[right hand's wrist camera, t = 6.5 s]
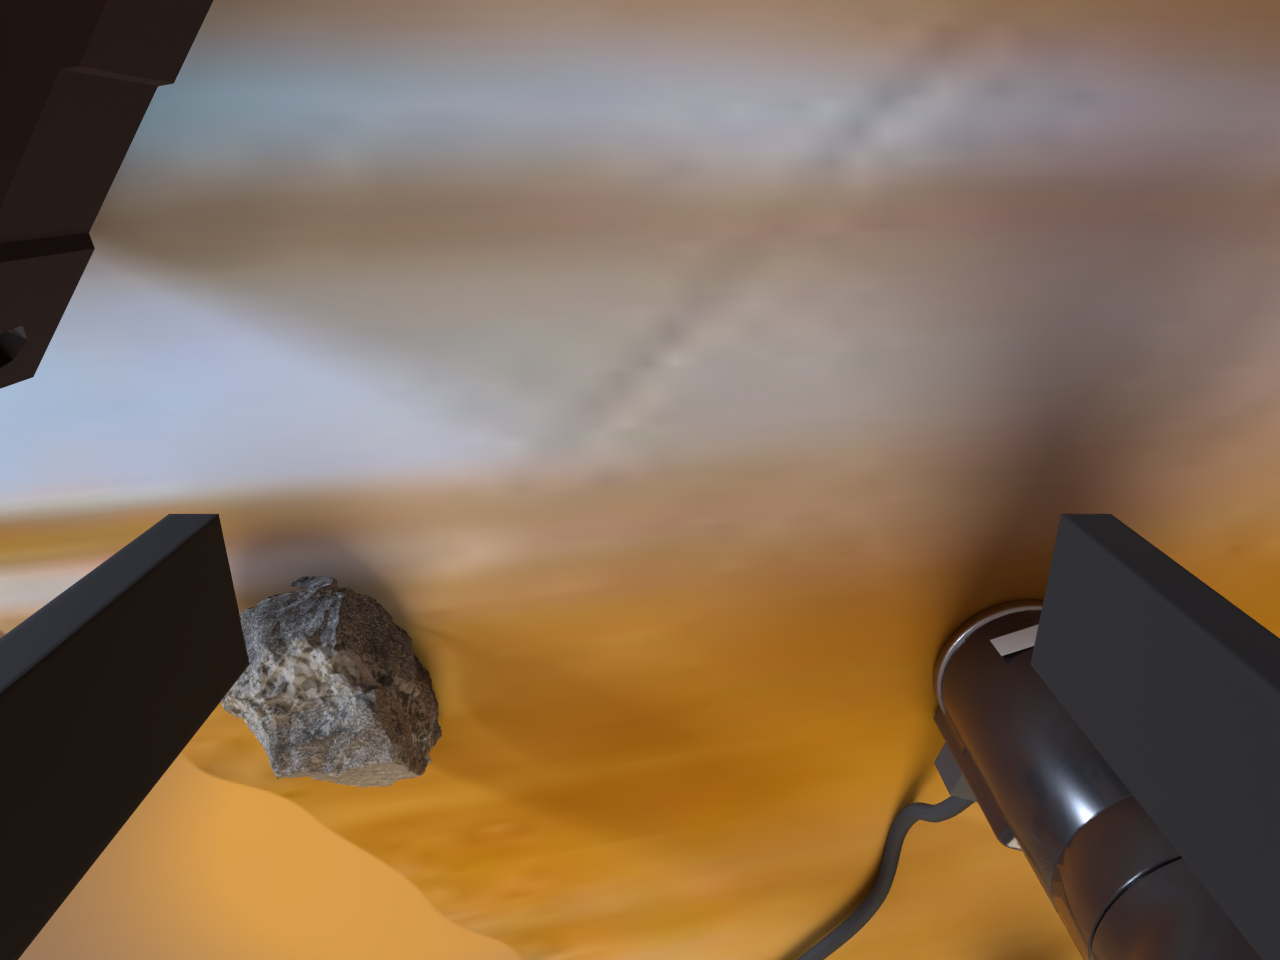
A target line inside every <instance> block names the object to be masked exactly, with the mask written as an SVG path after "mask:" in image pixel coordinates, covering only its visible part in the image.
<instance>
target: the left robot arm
mask: <svg viewBox="0 0 1280 960" xmlns="http://www.w3.org/2000/svg"><path fill="white" fill-rule="evenodd" d="M1042 606H1043V601H1041V600H1020V601H1013V602H1008V603H1004V604H1000V605H997V606H994V607H992V608H989V609H987V610H985V611H983V612H981V613H979V614H977V615H975V616H974V617H972V618H971V619H969V620H968V621H967V622H965V623H964V624H963V625H962V626H960V627H959V628H958V629H957V630H956V631H955V632H954V633H953V635H952V636H951V637H950V638H949V639H948V641H947V642H946V644H945V645H944V647H943V648H942V650H941V652H940V654H939V656H938V659H937V662H936V665H935V669H934V677H933V685H934V692H935V696H936V699H937V702H938V704H939V707H938V710H937V712H936V714H935V716H934V721H935V723H936V724H937V726H938V728H939V730H940V732H941V734H942V736H943V738H944V740H945V741H946V742H945V744H944V746H943V748H942V750H941V751H940V753H939V755H938V757H937V759H936V760H935V762H934V763H935V765H936V767H937V769H938V771H939V773H940V775H941V778H942V780H943V782H944V784H945V786H946V788H947V790H948V792H949V794H950V795H952V796H950V797H949V798H947V799H946V800H944V801H943V802H941V803H938V804H936V805H930V804H926V803H913V804H910V805H908V806H906V807H905V808H904V809H903V810H902V811H901V812H900V813H899V815H898V816H897V817H896V819H895V821H894V823H893V825H892V827H891V830H890V832H889V835H888V838H887V842H886V846H885V850H884V855H883V859H882V863H881V867H880V871H879V874H878V877H877V880H876V882H875V884H874V886H873V888H872V889H871V891H870V893H869V894H868V896H867V897H866V898H865V899H864V901H863V902H862V903H861V904H860V906H859V907H858V908H857V909H856V910H855V911H854V912H853V913H852V914H851V915H850V916H849V917H848V918H847V919H846V920H845V921H844V922H843V923H842V924H840V925H839V926H838V927H837V928H836V929H835V930H833V931H832V932H831V933H830V934H828V935H827V936H826V937H825V938H823V939H822V940H821V941H819V942H818V943H817V944H816V945H814V946H813V947H812V948H811V949H809V950H808V951H807V952H806V953H804V954H803V955H802V956H801V957H800V958H798V959H797V960H824V959H825V958H827V957H828V956H829V955H830V954H832V953H833V952H834V951H836V950H837V949H838V948H839V947H841V946H842V945H843V944H844V943H846V942H847V941H848V940H849V939H850V938H852V937H853V936H854V935H855V934H856V933H857V932H858V931H859V930H860V929H861V928H862V927H863V926H864V925H865V924H866V923H867V922H868V921H869V920H870V919H871V918H872V916H873V915H874V914H875V913H876V912H877V910H878V909H879V908H880V906H881V905H882V903H883V902H884V900H885V898H886V896H887V894H888V892H889V890H890V888H891V885H892V882H893V879H894V876H895V873H896V869H897V865H898V861H899V856H900V852H901V848H902V844H903V841H904V838H905V836H906V834H907V832H908V830H909V829H910V828H911V826H912V825H913V824H914V823H915V822H917V821H918V820H924V821H928V822H940V821H944V820H947V819H949V818H952V817H954V816H956V815H957V814H959V813H961V812H962V811H964V810H965V809H966V808H968V807H969V806H970V805H971V804H973V803H974V802H978V803H979V805H980V807H981V809H982V811H983V813H984V815H985V817H986V818H987V820H988V822H989V824H990V826H991V828H992V830H993V832H994V833H995V835H996V837H997V839H998V840H999V842H1000V843H1002V844H1003V845H1004V846H1006V847H1008V848H1012V849H1016V850H1020V851H1023V853H1024V855H1025V856H1026V858H1027V860H1028V862H1029V863H1030V865H1031V867H1032V869H1033V871H1034V872H1035V874H1036V876H1037V878H1038V880H1039V881H1040V883H1041V885H1042V887H1043V888H1044V890H1045V892H1046V894H1047V896H1048V897H1049V899H1050V901H1051V903H1052V905H1053V906H1054V908H1055V910H1056V912H1057V913H1058V915H1059V917H1060V918H1061V920H1062V922H1063V924H1064V925H1065V927H1066V929H1067V931H1068V933H1069V934H1070V936H1071V938H1072V940H1073V942H1074V943H1075V945H1076V947H1077V949H1078V950H1079V952H1080V954H1081V956H1082V958H1083V959H1084V960H1262V959H1261V958H1260V956H1259V955H1258V954H1257V952H1256V951H1255V950H1254V949H1253V947H1252V946H1251V945H1250V944H1249V942H1248V941H1247V940H1246V938H1245V937H1244V936H1243V935H1242V933H1241V932H1240V931H1239V930H1238V928H1237V927H1236V926H1235V924H1234V923H1233V922H1232V921H1231V919H1230V918H1229V917H1228V916H1227V914H1226V913H1225V912H1224V910H1223V909H1222V908H1221V907H1220V905H1219V904H1218V903H1217V901H1216V900H1215V899H1214V898H1213V896H1212V895H1211V894H1210V893H1209V891H1208V890H1207V889H1206V887H1205V886H1204V885H1203V884H1202V882H1201V881H1200V880H1199V879H1198V877H1197V876H1196V875H1195V873H1194V872H1193V871H1192V870H1191V868H1190V867H1189V866H1188V865H1187V863H1186V862H1185V861H1184V859H1183V858H1182V857H1181V856H1180V854H1179V853H1178V852H1177V851H1176V849H1175V848H1174V847H1173V845H1172V844H1171V843H1170V842H1169V840H1168V839H1167V838H1166V837H1165V835H1164V834H1163V833H1162V831H1161V830H1160V829H1159V828H1158V826H1157V825H1156V824H1155V823H1154V821H1153V820H1152V819H1151V817H1150V816H1149V815H1148V814H1147V812H1146V811H1145V810H1144V809H1143V807H1142V806H1141V805H1140V803H1139V802H1138V801H1137V800H1136V798H1135V797H1134V796H1133V794H1132V793H1131V792H1130V791H1129V789H1128V788H1127V787H1126V786H1125V784H1124V783H1123V782H1122V780H1121V779H1120V778H1119V777H1118V775H1117V774H1116V773H1115V772H1114V770H1113V769H1112V768H1111V766H1110V765H1109V764H1108V763H1107V761H1106V760H1105V759H1104V758H1103V756H1102V755H1101V754H1100V752H1099V751H1098V750H1097V749H1096V747H1095V746H1094V745H1093V744H1092V742H1091V741H1090V740H1089V738H1088V737H1087V736H1086V735H1085V733H1084V732H1083V731H1082V730H1081V728H1080V727H1079V726H1078V724H1077V723H1076V722H1075V721H1074V719H1073V718H1072V717H1071V716H1070V714H1069V713H1068V712H1067V710H1066V709H1065V708H1064V707H1063V705H1062V704H1061V703H1060V702H1059V700H1058V699H1057V698H1056V696H1055V695H1054V694H1053V693H1052V691H1051V690H1050V689H1049V687H1048V686H1047V685H1046V684H1045V682H1044V681H1043V680H1042V679H1041V677H1040V676H1039V675H1038V673H1037V672H1036V671H1035V670H1034V668H1033V667H1032V666H1031V665H1030V664H1031V659H1032V654H1033V649H1034V644H1035V639H1036V635H1037V630H1038V625H1039V620H1040V615H1041V610H1042Z"/></svg>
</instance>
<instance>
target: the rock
mask: <svg viewBox="0 0 1280 960" xmlns="http://www.w3.org/2000/svg"><path fill="white" fill-rule="evenodd" d="M336 585H337V580H336V579H334V578H331V577H330V578H328V577H327V578H326V577H322V576H319V578H318V577H311V576H310V577H306V576H305V577H302V578H300V579H299V580H296V581H294V582H293V583H292V585H290V586H297V587H301V589H302V588H309V589H307V591H305V592H300V591H297V592H290V593H287V594H279V596H277V595H275V596H273V597H269V598H267V599H265V600H262V601H261V602H259V603H258V604H257V606H256V607H255V608H254V607H252V608H246V609H245V610H243V612H242V613H240V614H239V615H240V620H241V625H242V630H243V635H244V639H245V644H246V649H247V654H248V659H249V664H250V665H249V666H248V667H247V668H246V670H245V671H244V672H243V673H242V675H241V676H240V677H239V679H238V680H237V681H236V682H235V684H234V685H233V686H232V687H231V689H230V690H229V691H228V693H227V694H226V695H225V696H224V698H223V699H222V706H223V707H224V709H225V711H227V712H229V713H230V714H232V715H234V716H235V717H237V718H241V719H244V721H245V722H246V724H247V725H248V727H249V729H250V730H251V732H252V733H254V734H255V736H256V738H257V739H258V740H259V741H260V743H261V744H262V746H263V747H264V749H265V751H266V753H267V755H268V757H269V759H270V766H271V768H272V769H273V771H274V773H275V776H276V777H277V779H279V777H287V778H297V777H303V776H309V777H311V778H313V779H316V780H319V781H329V782H334V783H337V784H344V785H352V786H357V787H376V786H383V787H384V786H389V785H392V784H393V783H394V782H396V781H397V780H400V779H407V778H414V777H418V776H420V775H423V774H424V772H425V769H426V767H427V765H428V764H429V763H431V761H432V760H431V758H430V756H429V753H430V750H431V748H433V747H434V746H435V744H436V742H437V740H438V739H439V738H440V737H441V736H442V735H441V734H442V733H441V729H440V728H441V727H440V726H439V725H438V722H437V716H438V711H437V710H438V703H437V700H436V699H435V697H434V693H433V691H432V683H431V678H430V677H429V673H428V671H427V670H425V668H424V667H423V666H422V664H421V663H419V661H418V659H417V657H416V656H415V654H414V652H413V649H412V643H411V638H410V637H409V636H408V634H407V633H406V631H404V630H403V629H401V628H400V627H398V626H397V625H395V624H394V623H393V622H392V617H391V616H390V615H389V614H388V613H387V612H386V611H385V610H384V608H382V606H381V605H380V604H377V603H376V600H373V599H372V598H370V597H368V596H366V595H361V594H356V595H355V593H354V591H353V590H351V589H350V588H338V587H337V586H336Z"/></svg>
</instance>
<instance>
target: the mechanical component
mask: <svg viewBox="0 0 1280 960" xmlns="http://www.w3.org/2000/svg"><path fill="white" fill-rule="evenodd" d="M212 2H213V0H0V388H3V387H6V386H9V385H12V384H15V383H17V382H20V381H23V380H26V379H29V378H32V377H33V376H34V374H35V372H36V370H37V368H38V366H39V364H40V362H41V360H42V358H43V356H44V353H45V351H46V349H47V347H48V345H49V343H50V341H51V339H52V337H53V335H54V332H55V330H56V328H57V326H58V324H59V322H60V320H61V318H62V316H63V314H64V312H65V309H66V307H67V305H68V303H69V301H70V299H71V297H72V295H73V293H74V291H75V289H76V286H77V284H78V282H79V280H80V278H81V276H82V274H83V272H84V270H85V268H86V266H87V263H88V261H89V259H90V257H91V255H92V253H93V251H94V249H95V248H94V246H93V243H92V240H91V238H90V235H89V231H90V229H91V227H92V225H93V223H94V220H95V218H96V216H97V214H98V212H99V210H100V208H101V206H102V204H103V201H104V199H105V197H106V195H107V193H108V191H109V189H110V187H111V184H112V182H113V180H114V178H115V176H116V174H117V172H118V170H119V167H120V165H121V163H122V161H123V159H124V157H125V155H126V153H127V151H128V148H129V146H130V144H131V142H132V140H133V138H134V136H135V134H136V131H137V129H138V127H139V125H140V123H141V121H142V119H143V117H144V114H145V112H146V110H147V108H148V106H149V104H150V102H151V100H152V98H153V95H154V93H155V91H156V89H157V87H158V86H161V85H167V84H172V83H174V81H175V79H176V77H177V75H178V73H179V71H180V69H181V67H182V65H183V63H184V60H185V58H186V56H187V54H188V52H189V50H190V48H191V46H192V44H193V42H194V40H195V37H196V35H197V33H198V31H199V29H200V27H201V25H202V23H203V21H204V19H205V17H206V14H207V12H208V10H209V8H210V6H211V4H212Z"/></svg>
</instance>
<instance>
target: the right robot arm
mask: <svg viewBox="0 0 1280 960" xmlns="http://www.w3.org/2000/svg"><path fill="white" fill-rule="evenodd" d="M249 665H250V664H249V659H248V654H247V649H246V644H245V639H244V635H243V630H242V625H241V620H240V615H239V611H238V606H237V601H236V596H235V591H234V586H233V582H232V577H231V572H230V567H229V562H228V557H227V553H226V548H225V543H224V538H223V533H222V528H221V524H220V519H219V514H169V515H167V516H166V517H165V518H163V519H162V520H161V521H159V522H158V523H156V524H155V525H154V526H152V527H151V528H150V529H148V530H147V531H146V532H144V533H143V534H142V535H140V536H139V537H137V538H136V539H135V540H133V541H132V542H131V543H129V544H128V545H127V546H125V547H124V548H123V549H121V550H120V551H119V552H117V553H116V554H114V555H113V556H112V557H110V558H109V559H108V560H106V561H105V562H104V563H102V564H101V565H100V566H98V567H97V568H95V569H94V570H93V571H91V572H90V573H89V574H87V575H86V576H85V577H83V578H82V579H81V580H79V581H78V582H76V583H75V584H74V585H72V586H71V587H70V588H68V589H67V590H66V591H64V592H63V593H62V594H60V595H59V596H57V597H56V598H55V599H53V600H52V601H51V602H49V603H48V604H47V605H45V606H44V607H43V608H41V609H40V610H38V611H37V612H36V613H34V614H33V615H32V616H30V617H29V618H28V619H26V620H25V621H24V622H22V623H21V624H19V625H18V626H17V627H15V628H14V629H13V630H11V631H10V632H9V633H7V634H6V635H5V636H3V637H2V638H0V960H18V959H19V958H20V956H21V955H22V954H23V952H24V951H25V950H26V949H27V947H28V946H29V945H30V944H31V942H32V941H33V940H34V938H35V937H36V936H37V935H38V933H39V932H40V931H41V930H42V928H43V927H44V926H45V924H46V923H47V922H48V921H49V919H50V918H51V917H52V916H53V914H54V913H55V912H56V910H57V909H58V908H59V907H60V905H61V904H62V903H63V901H64V900H65V899H66V898H67V896H68V895H69V894H70V893H71V891H72V890H73V889H74V887H75V886H76V885H77V884H78V882H79V881H80V880H81V878H82V877H83V876H84V875H85V873H86V872H87V871H88V870H89V868H90V867H91V866H92V864H93V863H94V862H95V861H96V859H97V858H98V857H99V856H100V854H101V853H102V852H103V851H104V849H105V848H106V847H107V845H108V844H109V843H110V842H111V840H112V839H113V838H114V836H115V835H116V834H117V833H118V831H119V830H120V829H121V828H122V826H123V825H124V824H125V823H126V821H127V820H128V819H129V817H130V816H131V815H132V814H133V812H134V811H135V810H136V809H137V807H138V806H139V805H140V803H141V802H142V801H143V800H144V798H145V797H146V796H147V794H148V793H149V792H150V791H151V789H152V788H153V787H154V786H155V784H156V783H157V782H158V780H159V779H160V778H161V777H162V775H163V774H164V773H165V772H166V770H167V769H168V768H169V766H170V765H171V764H172V763H173V761H174V760H175V759H176V758H177V756H178V755H179V754H180V752H181V751H182V750H183V749H184V747H185V746H186V745H187V744H188V742H189V741H190V740H191V738H192V737H193V736H194V735H195V733H196V732H197V731H198V730H199V728H200V727H201V726H202V724H203V723H204V722H205V721H206V719H207V718H208V717H209V716H210V714H211V713H212V712H213V710H214V709H215V708H216V707H217V705H218V704H219V703H220V702H221V700H222V699H223V698H224V696H225V695H226V694H227V693H228V691H229V690H230V689H231V687H232V686H233V685H234V684H235V682H236V681H237V680H238V679H239V677H240V676H241V675H242V673H243V672H244V671H245V670H246V668H247V667H248V666H249ZM1030 665H1031V666H1032V667H1033V668H1034V670H1035V671H1036V672H1037V673H1038V675H1039V676H1040V677H1041V679H1042V680H1043V681H1044V682H1045V684H1046V685H1047V686H1048V687H1049V689H1050V690H1051V691H1052V693H1053V694H1054V695H1055V696H1056V698H1057V699H1058V700H1059V702H1060V703H1061V704H1062V705H1063V707H1064V708H1065V709H1066V710H1067V712H1068V713H1069V714H1070V716H1071V717H1072V718H1073V719H1074V721H1075V722H1076V723H1077V724H1078V726H1079V727H1080V728H1081V730H1082V731H1083V732H1084V733H1085V735H1086V736H1087V737H1088V738H1089V740H1090V741H1091V742H1092V744H1093V745H1094V746H1095V747H1096V749H1097V750H1098V751H1099V752H1100V754H1101V755H1102V756H1103V758H1104V759H1105V760H1106V761H1107V763H1108V764H1109V765H1110V766H1111V768H1112V769H1113V770H1114V772H1115V773H1116V774H1117V775H1118V777H1119V778H1120V779H1121V780H1122V782H1123V783H1124V784H1125V786H1126V787H1127V788H1128V789H1129V791H1130V792H1131V793H1132V794H1133V796H1134V797H1135V798H1136V800H1137V801H1138V802H1139V803H1140V805H1141V806H1142V807H1143V809H1144V810H1145V811H1146V812H1147V814H1148V815H1149V816H1150V817H1151V819H1152V820H1153V821H1154V823H1155V824H1156V825H1157V826H1158V828H1159V829H1160V830H1161V831H1162V833H1163V834H1164V835H1165V837H1166V838H1167V839H1168V840H1169V842H1170V843H1171V844H1172V845H1173V847H1174V848H1175V849H1176V851H1177V852H1178V853H1179V854H1180V856H1181V857H1182V858H1183V859H1184V861H1185V862H1186V863H1187V865H1188V866H1189V867H1190V868H1191V870H1192V871H1193V872H1194V873H1195V875H1196V876H1197V877H1198V879H1199V880H1200V881H1201V882H1202V884H1203V885H1204V886H1205V887H1206V889H1207V890H1208V891H1209V893H1210V894H1211V895H1212V896H1213V898H1214V899H1215V900H1216V901H1217V903H1218V904H1219V905H1220V907H1221V908H1222V909H1223V910H1224V912H1225V913H1226V914H1227V916H1228V917H1229V918H1230V919H1231V921H1232V922H1233V923H1234V924H1235V926H1236V927H1237V928H1238V930H1239V931H1240V932H1241V933H1242V935H1243V936H1244V937H1245V938H1246V940H1247V941H1248V942H1249V944H1250V945H1251V946H1252V947H1253V949H1254V950H1255V951H1256V952H1257V954H1258V955H1259V956H1260V958H1261V959H1262V960H1280V638H1278V637H1277V636H1275V635H1274V634H1273V633H1271V632H1270V631H1269V630H1267V629H1266V628H1265V627H1263V626H1262V625H1261V624H1259V623H1258V622H1256V621H1255V620H1254V619H1252V618H1251V617H1250V616H1248V615H1247V614H1246V613H1244V612H1243V611H1242V610H1240V609H1239V608H1237V607H1236V606H1235V605H1233V604H1232V603H1231V602H1229V601H1228V600H1227V599H1225V598H1224V597H1223V596H1221V595H1220V594H1218V593H1217V592H1216V591H1214V590H1213V589H1212V588H1210V587H1209V586H1208V585H1206V584H1205V583H1204V582H1202V581H1201V580H1199V579H1198V578H1197V577H1195V576H1194V575H1193V574H1191V573H1190V572H1189V571H1187V570H1186V569H1185V568H1183V567H1182V566H1180V565H1179V564H1178V563H1176V562H1175V561H1174V560H1172V559H1171V558H1170V557H1168V556H1167V555H1166V554H1164V553H1163V552H1161V551H1160V550H1159V549H1157V548H1156V547H1155V546H1153V545H1152V544H1151V543H1149V542H1148V541H1147V540H1145V539H1144V538H1143V537H1141V536H1140V535H1138V534H1137V533H1136V532H1134V531H1133V530H1132V529H1130V528H1129V527H1128V526H1126V525H1125V524H1124V523H1122V522H1121V521H1119V520H1118V519H1117V518H1115V517H1114V516H1113V515H1111V514H1061V519H1060V524H1059V528H1058V533H1057V538H1056V543H1055V548H1054V553H1053V557H1052V562H1051V567H1050V572H1049V577H1048V582H1047V586H1046V591H1045V596H1044V601H1043V606H1042V610H1041V615H1040V620H1039V625H1038V630H1037V635H1036V639H1035V644H1034V649H1033V654H1032V659H1031V664H1030Z"/></svg>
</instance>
